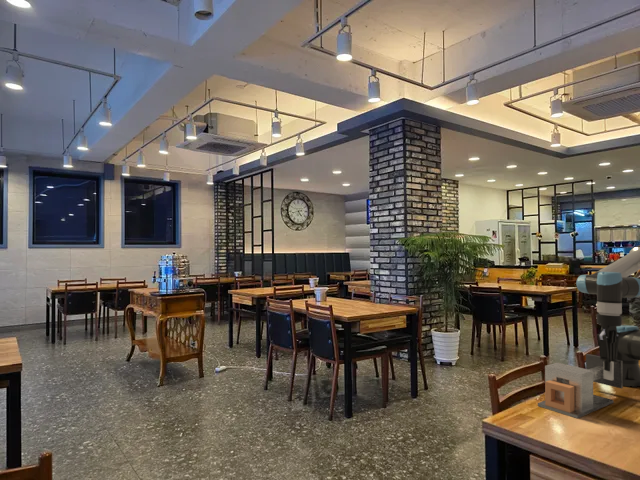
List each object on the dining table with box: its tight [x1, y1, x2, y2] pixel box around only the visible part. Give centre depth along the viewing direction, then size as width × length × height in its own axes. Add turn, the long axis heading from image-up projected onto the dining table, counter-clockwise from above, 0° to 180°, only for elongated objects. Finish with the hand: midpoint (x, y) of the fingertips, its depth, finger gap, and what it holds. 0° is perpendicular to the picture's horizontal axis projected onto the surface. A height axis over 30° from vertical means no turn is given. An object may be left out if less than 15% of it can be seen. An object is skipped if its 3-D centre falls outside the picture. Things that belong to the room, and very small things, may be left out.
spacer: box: [544, 380, 574, 413], centre depth 143 cm, size 3×8×8 cm, turn 35°
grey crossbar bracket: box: [564, 353, 624, 389], centre depth 154 cm, size 27×12×10 cm, turn 124°
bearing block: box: [537, 362, 614, 419], centre depth 149 cm, size 26×13×13 cm, turn 124°
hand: (608, 379), depth 154 cm, fingers closed
